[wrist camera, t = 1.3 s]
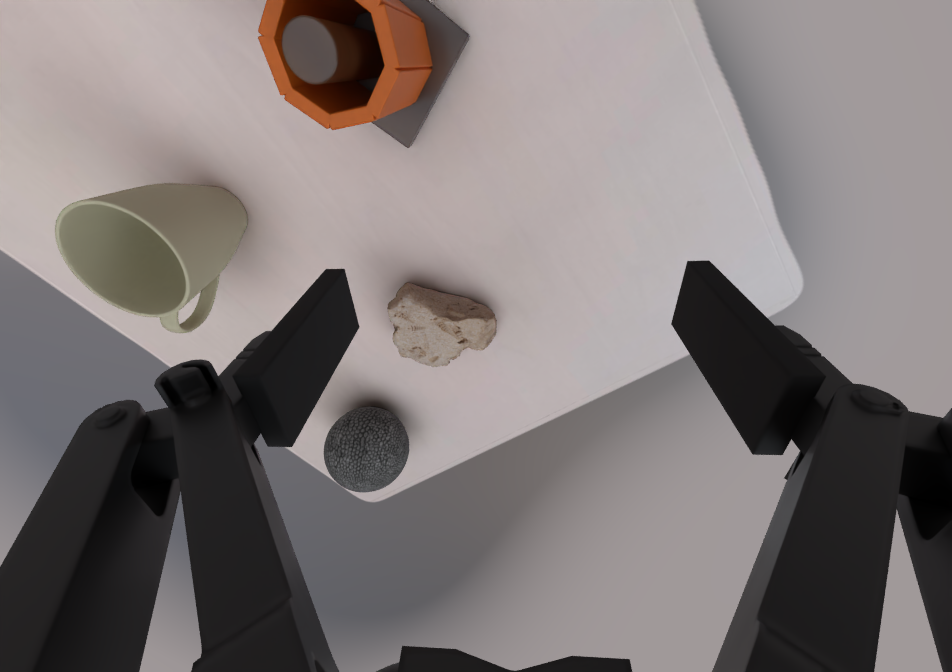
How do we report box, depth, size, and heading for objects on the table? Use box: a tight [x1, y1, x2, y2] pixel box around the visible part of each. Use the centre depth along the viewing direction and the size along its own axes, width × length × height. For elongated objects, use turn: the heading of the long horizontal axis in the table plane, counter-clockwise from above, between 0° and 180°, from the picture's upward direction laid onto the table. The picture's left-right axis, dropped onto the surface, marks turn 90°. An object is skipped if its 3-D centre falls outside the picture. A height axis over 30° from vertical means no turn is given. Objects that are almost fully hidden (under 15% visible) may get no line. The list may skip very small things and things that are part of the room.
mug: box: [55, 183, 248, 333], centre depth 34 cm, size 11×10×12 cm
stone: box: [387, 282, 497, 367], centre depth 42 cm, size 9×11×5 cm
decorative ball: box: [324, 407, 409, 492], centre depth 49 cm, size 10×10×10 cm
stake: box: [282, 0, 470, 148], centre depth 25 cm, size 9×9×15 cm
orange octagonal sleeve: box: [258, 0, 432, 130], centre depth 25 cm, size 7×7×11 cm
